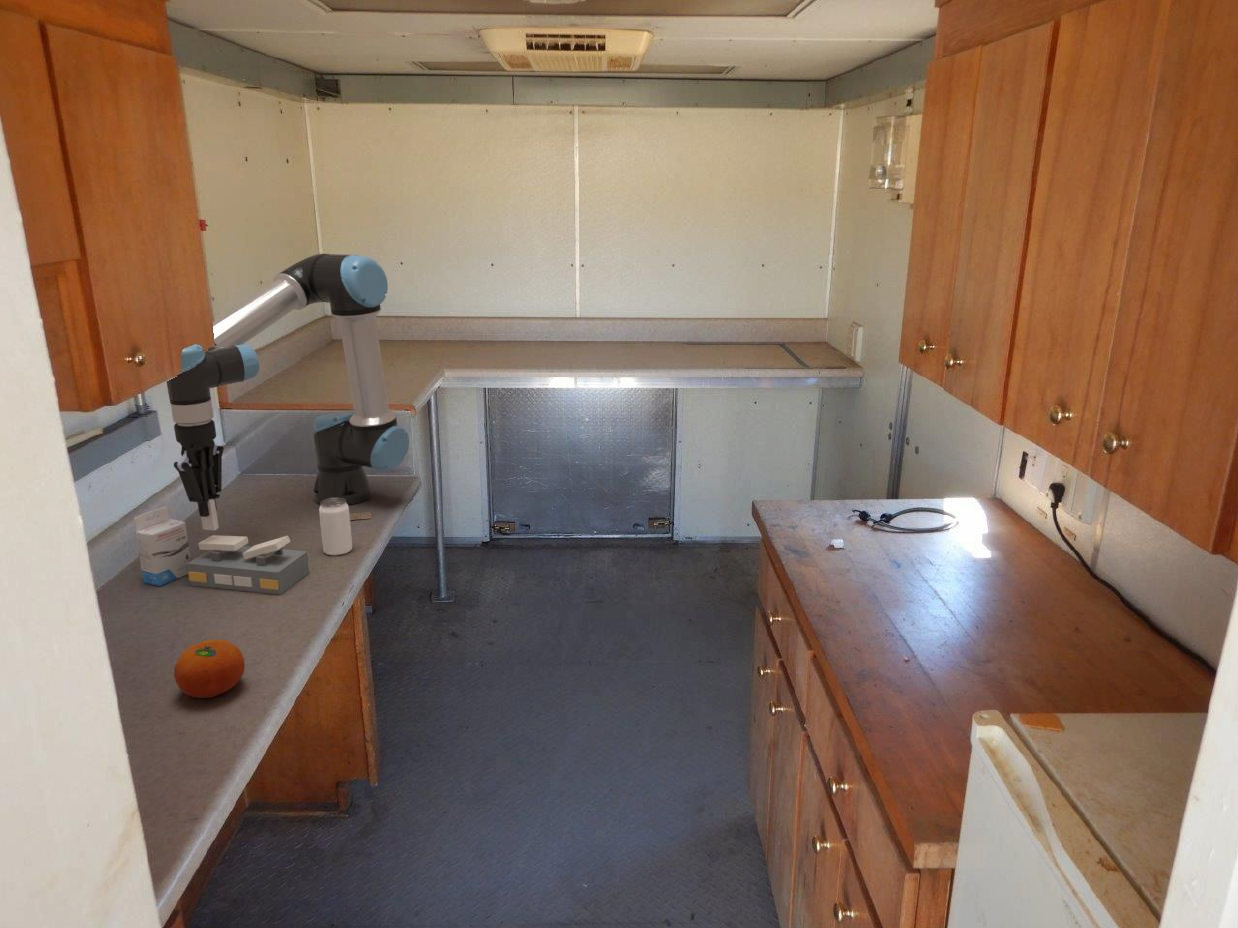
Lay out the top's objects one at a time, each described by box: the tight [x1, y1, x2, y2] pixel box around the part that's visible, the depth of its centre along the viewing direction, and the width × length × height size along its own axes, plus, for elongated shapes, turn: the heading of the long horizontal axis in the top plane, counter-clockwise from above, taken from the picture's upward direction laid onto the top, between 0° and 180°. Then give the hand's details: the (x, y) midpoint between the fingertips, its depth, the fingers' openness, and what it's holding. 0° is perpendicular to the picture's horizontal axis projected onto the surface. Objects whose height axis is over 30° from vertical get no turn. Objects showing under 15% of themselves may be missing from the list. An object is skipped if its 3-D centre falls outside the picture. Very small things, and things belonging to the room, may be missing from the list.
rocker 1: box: [198, 534, 249, 555], centre depth 185 cm, size 5×8×2 cm, turn 78°
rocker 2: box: [242, 535, 291, 559], centre depth 183 cm, size 5×8×2 cm, turn 78°
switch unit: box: [187, 545, 310, 596], centre depth 185 cm, size 11×21×7 cm, turn 78°
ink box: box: [133, 505, 192, 587], centre depth 185 cm, size 9×5×15 cm, turn 154°
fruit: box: [173, 638, 246, 699], centre depth 144 cm, size 11×10×8 cm
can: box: [318, 498, 353, 557], centre depth 199 cm, size 6×6×12 cm
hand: (210, 528), depth 185 cm, fingers closed
